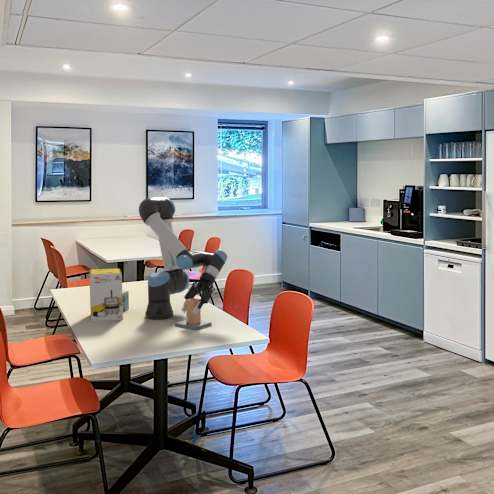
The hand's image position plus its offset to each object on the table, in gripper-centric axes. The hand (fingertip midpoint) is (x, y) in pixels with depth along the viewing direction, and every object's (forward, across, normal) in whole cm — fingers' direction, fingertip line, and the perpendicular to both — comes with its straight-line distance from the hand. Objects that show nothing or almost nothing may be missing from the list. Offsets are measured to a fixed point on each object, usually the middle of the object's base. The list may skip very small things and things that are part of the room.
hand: (188, 312), depth 304 cm
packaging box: (+13, +50, +2) cm, 52 cm away
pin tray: (+3, 0, -8) cm, 8 cm away
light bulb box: (+2, +56, -9) cm, 57 cm away
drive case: (+2, 0, -7) cm, 7 cm away
